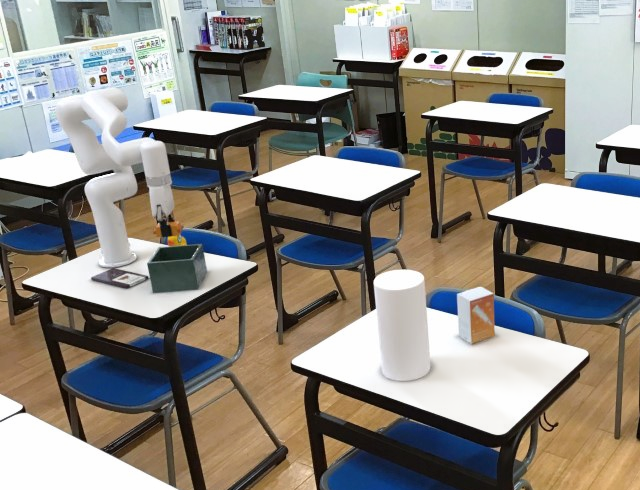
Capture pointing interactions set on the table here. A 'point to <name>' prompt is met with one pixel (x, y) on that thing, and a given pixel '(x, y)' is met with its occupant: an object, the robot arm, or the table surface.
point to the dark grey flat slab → (119, 278)
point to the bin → (177, 268)
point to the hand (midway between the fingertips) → (169, 233)
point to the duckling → (176, 241)
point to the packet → (175, 229)
